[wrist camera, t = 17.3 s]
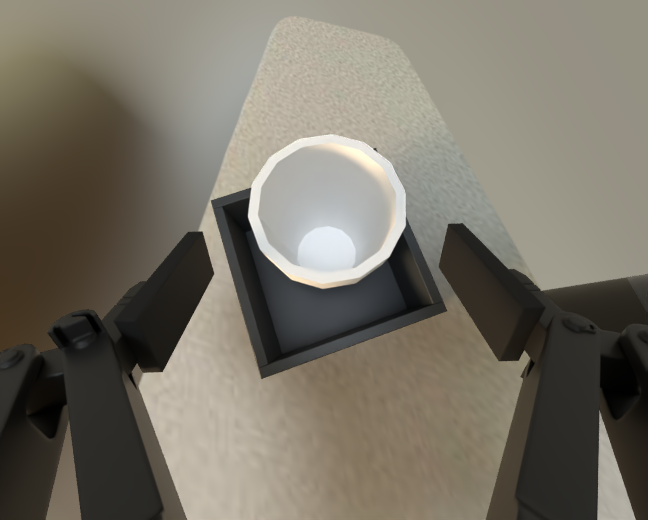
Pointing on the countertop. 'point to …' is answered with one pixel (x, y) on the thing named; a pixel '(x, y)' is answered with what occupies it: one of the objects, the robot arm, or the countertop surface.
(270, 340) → the dark grey open box
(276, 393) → the countertop surface
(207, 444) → the countertop surface
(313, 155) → the foam cup
